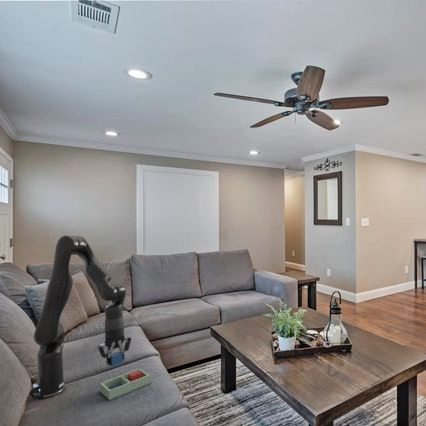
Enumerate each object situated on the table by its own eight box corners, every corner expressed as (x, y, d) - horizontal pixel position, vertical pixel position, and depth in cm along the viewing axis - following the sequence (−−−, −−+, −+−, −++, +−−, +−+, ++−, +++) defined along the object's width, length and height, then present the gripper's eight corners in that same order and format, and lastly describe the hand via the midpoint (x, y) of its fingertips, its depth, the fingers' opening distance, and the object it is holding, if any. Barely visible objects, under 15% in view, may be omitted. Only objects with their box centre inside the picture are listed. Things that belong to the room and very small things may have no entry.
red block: (131, 385, 156) (131, 376, 156) (128, 382, 159) (127, 373, 159) (141, 381, 159) (141, 372, 159) (137, 378, 162) (137, 370, 162)
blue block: (112, 366, 149) (111, 356, 149) (108, 363, 152) (108, 354, 152) (122, 362, 153) (122, 353, 153) (119, 360, 155) (118, 351, 155)
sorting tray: (109, 400, 145) (109, 391, 145) (100, 391, 152) (99, 383, 152) (149, 383, 159) (149, 375, 159) (139, 376, 166) (139, 368, 166)
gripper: (127, 320, 160) (128, 355, 160) (93, 329, 149) (95, 366, 149) (134, 323, 156) (135, 359, 156) (99, 333, 144) (101, 371, 144)
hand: (115, 362), depth 152 cm, fingers closed on blue block, 4 cm apart
